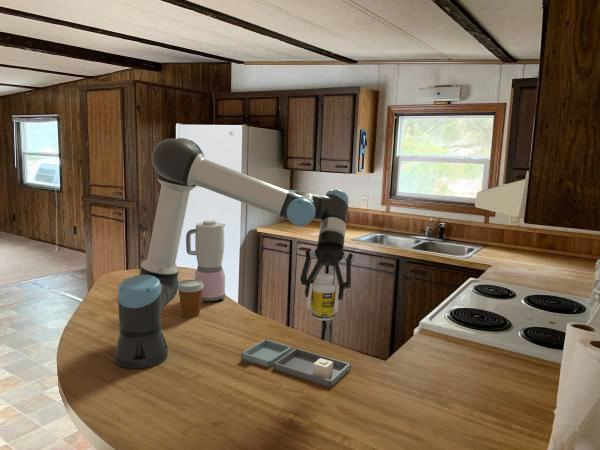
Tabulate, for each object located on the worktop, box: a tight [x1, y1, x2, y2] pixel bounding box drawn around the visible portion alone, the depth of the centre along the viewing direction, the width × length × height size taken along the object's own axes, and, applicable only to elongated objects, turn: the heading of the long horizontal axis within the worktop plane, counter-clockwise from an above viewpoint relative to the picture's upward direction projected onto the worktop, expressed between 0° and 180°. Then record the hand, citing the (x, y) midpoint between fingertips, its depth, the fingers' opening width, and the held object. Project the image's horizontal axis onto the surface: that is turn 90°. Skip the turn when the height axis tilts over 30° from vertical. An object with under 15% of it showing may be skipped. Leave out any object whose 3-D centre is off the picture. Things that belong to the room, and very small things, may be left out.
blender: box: [185, 219, 226, 304], centre depth 190 cm, size 16×12×32 cm
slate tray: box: [240, 338, 293, 368], centre depth 143 cm, size 12×10×2 cm
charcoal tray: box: [273, 347, 352, 388], centre depth 135 cm, size 12×18×2 cm
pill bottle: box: [311, 273, 337, 321], centre depth 129 cm, size 6×6×12 cm
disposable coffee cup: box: [178, 279, 204, 318], centre depth 175 cm, size 10×10×12 cm
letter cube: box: [313, 358, 333, 379], centre depth 131 cm, size 4×4×4 cm
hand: (322, 308), depth 126 cm, fingers closed on pill bottle, 6 cm apart
